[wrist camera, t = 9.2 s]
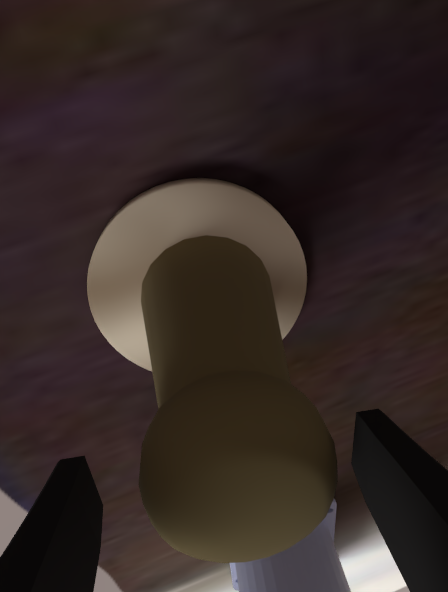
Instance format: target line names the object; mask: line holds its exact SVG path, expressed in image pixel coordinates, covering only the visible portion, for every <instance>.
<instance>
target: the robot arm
mask: <svg viewBox="0 0 448 592" xmlns="http://www.w3.org/2000/svg"><path fill="white" fill-rule="evenodd" d="M351 464H352V466H353V469H354V472H355V475H356V478H357V480H358V483H359V486H360V489H361V491H362V494H363V496H364V499H365V502H366V504H367V506H368V508H369V510H370V512H371V514H372V516H373V518H374V520H375V522H376V524H377V526H378V528H379V530H380V532H381V534H382V536H383V538H384V540H385V542H386V544H387V546H388V548H389V550H390V552H391V554H392V556H393V558H394V560H395V562H396V564H397V566H398V568H399V570H400V572H401V574H402V576H403V578H404V580H405V582H406V584H407V586H408V588H409V590H410V592H448V470H447V469H445V468H444V467H443V466H442V465H441V464H439V463H438V462H437V461H436V460H435V459H434V458H432V457H431V456H430V455H429V454H428V453H427V452H426V451H425V450H423V449H422V448H421V447H420V446H419V445H418V444H417V443H416V442H415V441H413V440H412V439H411V438H410V437H409V436H408V435H407V434H406V433H405V432H404V431H402V430H401V429H400V428H399V427H398V426H397V425H396V424H395V423H394V422H393V421H392V420H391V419H390V418H388V417H387V416H386V415H385V414H384V413H383V412H382V411H381V410H379V409H374V410H368V411H361V412H356V421H355V432H354V442H353V452H352V462H351ZM336 508H337V504H336V501H335V499H333V502H332V504H331V506H330V509H329V511H328V513H327V516H326V517H325V518H324V520H323V521H322V522H321V523H320V524H319V525H318V526H317V527H316V528H315V529H314V530H313V532H312V533H310V534H309V535H308V536H306V537H305V538H304V539H302V540H301V541H299V542H298V543H296V544H295V545H293V546H292V547H290V548H289V549H287V550H284V551H282V552H279V553H277V554H274V555H272V556H270V557H267V558H262V559H258V560H253V561H249V562H239V563H230V569H231V575H232V582H233V588H234V589H235V590H239V592H351V591H350V588H349V585H348V582H347V579H346V577H345V574H344V571H343V568H342V565H341V562H340V560H339V557H338V554H337V551H336V548H335V545H334V534H335V521H336ZM102 516H103V504H102V501H101V498H100V496H99V493H98V490H97V488H96V485H95V483H94V480H93V477H92V475H91V472H90V469H89V467H88V464H87V461H86V459H85V456H80V457H74V458H68V459H62V460H60V461H59V462H58V463H57V465H56V466H55V468H54V470H53V472H52V473H51V475H50V477H49V479H48V480H47V482H46V484H45V486H44V487H43V489H42V491H41V493H40V494H39V496H38V498H37V499H36V501H35V503H34V504H33V506H32V508H31V509H30V511H29V513H28V514H27V516H26V518H25V519H24V521H23V523H22V524H21V526H20V527H19V529H18V531H17V532H16V534H15V535H14V537H13V538H12V540H11V542H10V543H9V545H8V546H7V548H6V550H5V551H4V552H3V554H2V556H1V557H0V592H93V590H94V584H95V578H96V572H97V566H98V560H99V554H100V547H101V533H102Z"/></svg>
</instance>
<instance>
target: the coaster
mask: <svg viewBox="0 0 448 592" xmlns="http://www.w3.org/2000/svg"><path fill="white" fill-rule="evenodd" d="M204 235H209V236H218V237H227V238H230V239H232V240H234V241H237V242H239V243H241V244H243V245H246V246H247V247H248V248H249V249H251V250H252V251H253V252H254V253H255V254H256V255H257V256H258V257H259V258H260V259H261V260H262V262H263V264H264V266H265V268H266V270H267V272H268V274H269V276H270V281H271V286H272V291H273V296H274V301H275V306H276V311H277V316H278V321H279V326H280V331H281V336H282V340H283V338H284V337H285V336H286V335H287V334H288V332H289V331H290V329H291V328H292V326H293V325H294V323H295V321H296V319H297V317H298V316H299V313H300V311H301V308H302V305H303V302H304V298H305V294H306V286H307V269H306V263H305V258H304V253H303V251H302V248H301V245H300V243H299V241H298V239H297V237H296V235H295V233H294V232H293V230H292V229H291V227H290V226H289V225H288V223H287V222H286V221H285V219H284V218H283V217H282V216H281V214H280V213H279V212H278V211H277V210H276V209H275V208H274V207H273V206H272V205H271V204H270V203H269V202H268V201H266V200H265V199H263V198H262V197H261V196H259V195H258V194H256V193H254V192H252V191H250V190H249V189H247V188H245V187H242V186H239V185H237V184H234V183H231V182H227V181H222V180H217V179H207V178H190V179H181V180H176V181H171V182H167V183H164V184H161V185H158V186H155V187H153V188H151V189H149V190H147V191H145V192H143V193H141V194H139V195H138V196H136V197H135V198H133V199H132V200H130V201H129V202H127V203H126V204H125V205H124V206H123V207H122V208H121V209H120V210H119V211H117V213H116V214H115V215H114V216H113V217H112V218H111V220H110V221H109V222H108V223H107V225H106V227H105V228H104V230H103V232H102V233H101V235H100V237H99V240H98V242H97V244H96V247H95V249H94V252H93V254H92V257H91V261H90V265H89V269H88V278H87V292H88V300H89V304H90V309H91V312H92V314H93V317H94V320H95V322H96V324H97V326H98V327H99V329H100V331H101V333H102V334H103V335H104V337H105V338H106V339H107V341H108V342H109V343H110V344H111V345H112V346H113V347H114V348H115V349H116V350H117V351H118V352H119V353H121V354H122V355H123V356H124V357H126V358H127V359H128V360H130V361H132V362H133V363H135V364H137V365H138V366H141V367H143V368H145V369H147V370H149V371H152V366H151V360H150V354H149V348H148V342H147V336H146V330H145V324H144V318H143V312H142V306H141V291H142V282H143V279H144V277H145V275H146V273H147V271H148V269H149V266H150V265H151V263H152V262H153V261H154V260H155V259H156V258H157V257H158V256H159V255H160V254H161V253H162V252H163V251H164V250H165V249H167V248H169V247H171V246H173V245H175V244H176V243H178V242H180V241H182V240H184V239H189V238H194V237H199V236H204Z"/></svg>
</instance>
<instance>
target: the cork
mask: <svg viewBox="0 0 448 592" xmlns="http://www.w3.org/2000/svg"><path fill="white" fill-rule="evenodd" d="M141 306H142V312H143V318H144V324H145V330H146V336H147V342H148V348H149V354H150V360H151V366H152V372H153V378H154V384H155V390H156V396H157V402H158V408H159V410H158V411H157V413H156V415H155V417H154V419H153V420H152V422H151V424H150V426H149V428H148V430H147V433H146V435H145V438H144V441H143V443H142V452H141V463H140V475H139V488H140V492H141V497H142V501H143V505H144V507H145V509H146V512H147V514H148V517H149V519H150V521H151V523H152V525H153V526H154V527H155V529H156V530H157V532H158V533H159V535H160V536H161V537H162V538H163V539H164V540H165V541H166V542H167V543H168V544H169V545H170V546H172V547H173V548H174V549H175V550H177V551H179V552H182V553H184V554H187V555H189V556H191V557H194V558H197V559H201V560H206V561H213V562H219V563H239V562H249V561H253V560H258V559H262V558H267V557H270V556H272V555H274V554H277V553H279V552H282V551H284V550H287V549H289V548H290V547H292V546H293V545H295V544H296V543H298V542H299V541H301V540H302V539H304V538H305V537H306V536H308V535H309V534H310V533H312V532H313V530H314V529H315V528H316V527H317V526H318V525H319V524H320V523H321V522H322V521H323V520H324V518H325V517H326V516H327V513H328V511H329V509H330V506H331V504H332V502H333V499H334V495H335V490H336V486H337V459H336V452H335V445H334V442H333V439H332V437H331V435H330V433H329V431H328V429H327V427H326V425H325V423H324V421H323V419H322V417H321V416H320V414H319V412H318V410H317V408H316V407H315V406H314V405H313V404H312V402H311V401H310V400H309V399H308V398H307V397H306V396H305V395H304V394H303V393H302V392H300V391H299V390H298V389H297V388H295V387H294V386H293V385H291V382H290V377H289V372H288V367H287V362H286V357H285V352H284V346H283V341H282V336H281V331H280V326H279V321H278V316H277V311H276V306H275V301H274V296H273V291H272V286H271V281H270V276H269V274H268V272H267V270H266V268H265V266H264V264H263V262H262V260H261V259H260V258H259V257H258V256H257V255H256V254H255V253H254V252H253V251H252V250H251V249H249V248H248V247H247V246H246V245H243V244H241V243H239V242H237V241H234V240H232V239H230V238H227V237H218V236H209V235H204V236H199V237H194V238H189V239H184V240H182V241H180V242H178V243H176V244H175V245H173V246H171V247H169V248H167V249H165V250H164V251H163V252H162V253H161V254H160V255H159V256H158V257H157V258H156V259H155V260H154V261H153V262H152V263H151V265H150V266H149V269H148V271H147V273H146V275H145V277H144V279H143V282H142V291H141Z"/></svg>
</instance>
